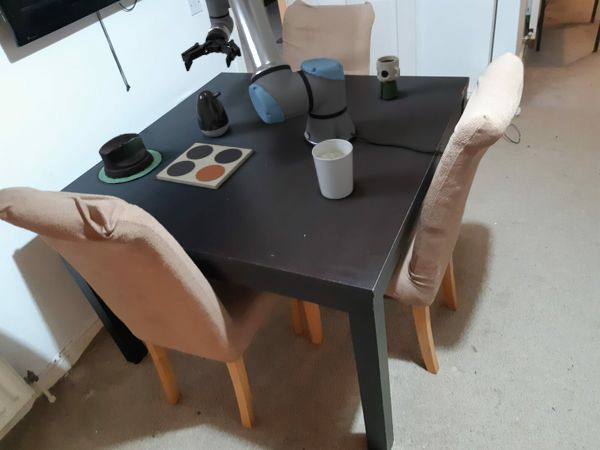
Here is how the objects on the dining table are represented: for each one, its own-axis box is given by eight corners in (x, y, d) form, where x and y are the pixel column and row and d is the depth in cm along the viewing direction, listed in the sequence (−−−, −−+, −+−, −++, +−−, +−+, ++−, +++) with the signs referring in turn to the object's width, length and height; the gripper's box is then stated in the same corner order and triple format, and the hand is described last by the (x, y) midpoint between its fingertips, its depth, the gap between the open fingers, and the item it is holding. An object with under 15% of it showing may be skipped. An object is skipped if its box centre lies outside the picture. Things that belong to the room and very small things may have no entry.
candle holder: (332, 175, 118) (327, 135, 111) (363, 185, 113) (360, 143, 105) (310, 194, 113) (303, 154, 106) (341, 205, 107) (336, 163, 100)
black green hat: (127, 144, 151) (174, 149, 144) (106, 192, 146) (154, 200, 138) (97, 119, 138) (147, 123, 131) (72, 171, 132) (124, 178, 125)
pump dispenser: (226, 140, 144) (214, 96, 135) (197, 141, 147) (183, 98, 137) (236, 125, 152) (224, 83, 142) (208, 126, 154) (195, 85, 145)
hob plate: (253, 152, 135) (252, 148, 134) (216, 189, 122) (215, 185, 121) (197, 145, 144) (195, 142, 144) (157, 179, 131) (155, 175, 130)
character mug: (370, 96, 154) (368, 59, 146) (385, 89, 156) (384, 52, 148) (391, 104, 146) (391, 66, 138) (407, 97, 149) (407, 58, 141)
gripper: (254, 45, 158) (247, 73, 143) (187, 52, 160) (173, 79, 145) (250, 24, 153) (242, 50, 138) (180, 31, 155) (166, 57, 140)
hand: (206, 65), depth 142 cm, fingers open, 13 cm apart
